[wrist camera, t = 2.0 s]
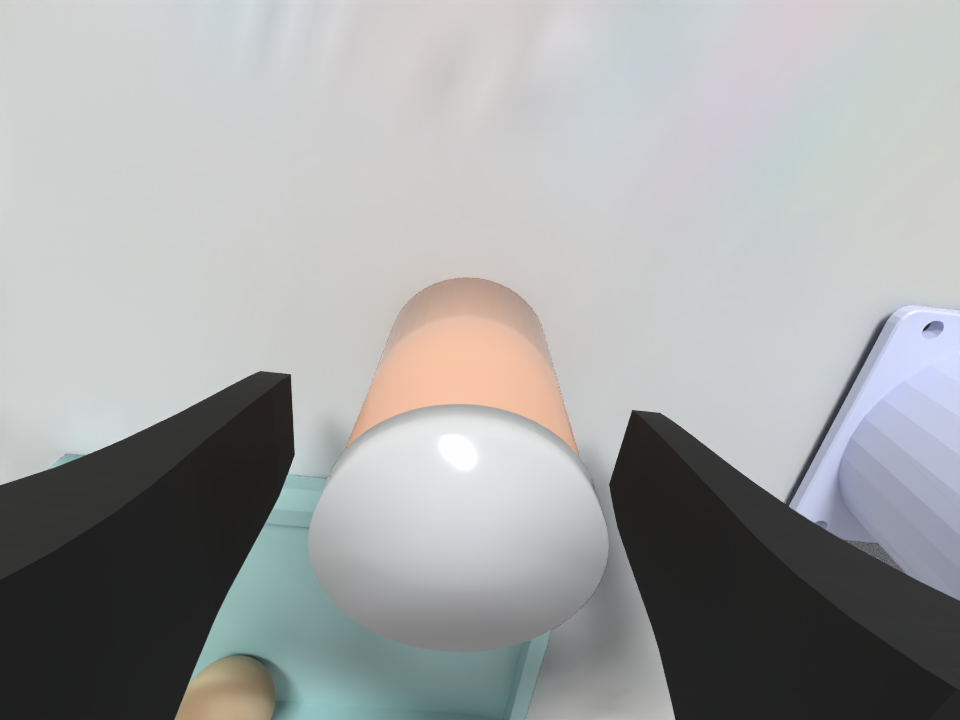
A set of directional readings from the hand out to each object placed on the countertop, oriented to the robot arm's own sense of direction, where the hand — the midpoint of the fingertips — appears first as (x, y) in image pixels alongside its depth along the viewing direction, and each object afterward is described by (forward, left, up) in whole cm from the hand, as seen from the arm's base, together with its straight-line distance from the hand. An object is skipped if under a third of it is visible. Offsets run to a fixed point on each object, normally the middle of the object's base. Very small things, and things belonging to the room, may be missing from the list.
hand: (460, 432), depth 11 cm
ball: (+7, +14, -3) cm, 16 cm away
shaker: (0, 0, -4) cm, 4 cm away
